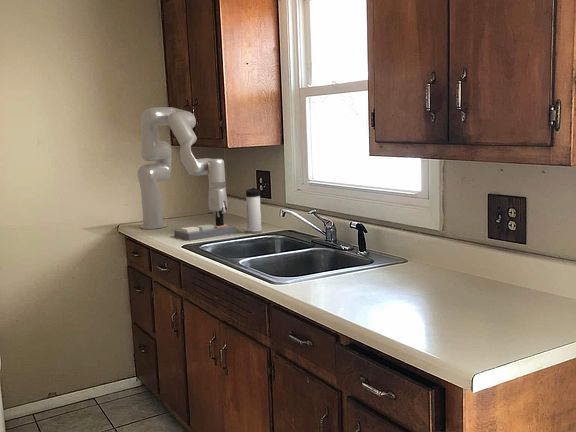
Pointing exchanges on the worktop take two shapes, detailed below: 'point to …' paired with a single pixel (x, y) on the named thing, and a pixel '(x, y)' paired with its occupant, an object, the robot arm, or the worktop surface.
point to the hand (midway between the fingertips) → (219, 225)
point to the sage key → (205, 227)
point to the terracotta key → (220, 226)
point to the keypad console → (205, 233)
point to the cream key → (189, 229)
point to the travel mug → (253, 210)
